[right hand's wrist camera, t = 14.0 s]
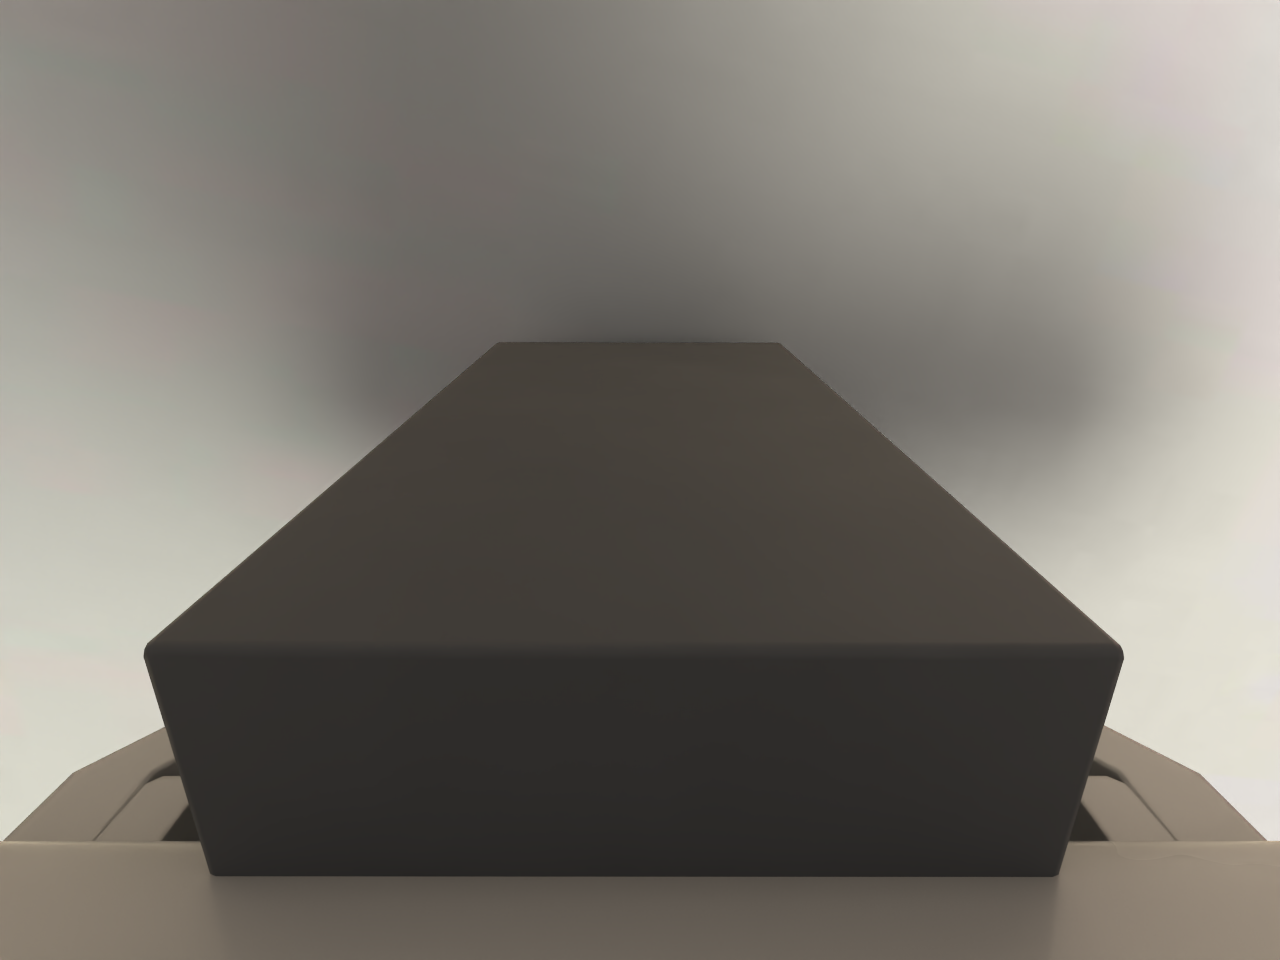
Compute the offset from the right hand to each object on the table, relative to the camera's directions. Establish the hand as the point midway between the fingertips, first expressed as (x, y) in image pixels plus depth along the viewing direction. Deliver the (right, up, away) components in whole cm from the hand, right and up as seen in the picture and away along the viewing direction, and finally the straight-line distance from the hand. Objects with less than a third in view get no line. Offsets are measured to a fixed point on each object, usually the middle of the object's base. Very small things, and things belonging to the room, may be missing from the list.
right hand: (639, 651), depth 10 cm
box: (0, -5, +8) cm, 9 cm away
